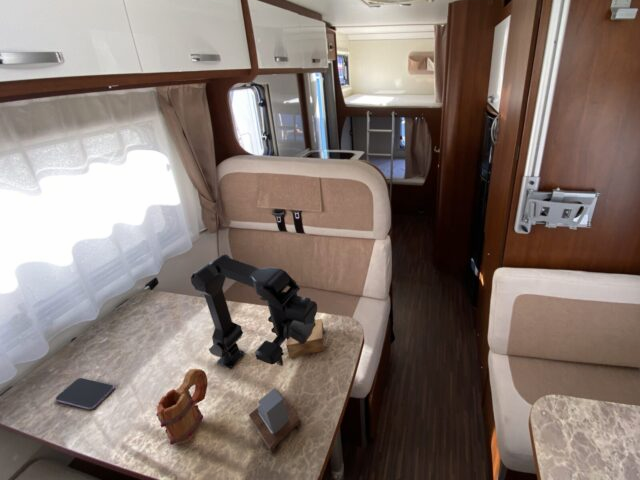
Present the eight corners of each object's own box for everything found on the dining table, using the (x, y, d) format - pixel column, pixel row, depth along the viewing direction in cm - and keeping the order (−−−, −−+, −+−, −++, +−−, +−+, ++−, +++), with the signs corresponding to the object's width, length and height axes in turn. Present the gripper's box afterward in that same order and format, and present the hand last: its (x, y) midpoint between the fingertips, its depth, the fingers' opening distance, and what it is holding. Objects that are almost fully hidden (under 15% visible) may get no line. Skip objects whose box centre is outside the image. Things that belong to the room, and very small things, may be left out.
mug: (187, 454, 79) (168, 419, 73) (161, 447, 81) (140, 413, 75) (224, 397, 92) (211, 364, 86) (202, 393, 94) (187, 360, 88)
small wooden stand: (251, 421, 86) (248, 414, 84) (279, 396, 92) (277, 390, 90) (271, 454, 78) (269, 447, 77) (301, 425, 84) (299, 418, 83)
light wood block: (289, 357, 104) (286, 345, 101) (291, 336, 112) (288, 324, 109) (324, 350, 106) (322, 338, 103) (324, 330, 114) (321, 318, 111)
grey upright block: (290, 420, 83) (283, 398, 79) (273, 435, 79) (265, 413, 75) (275, 399, 88) (268, 378, 84) (258, 413, 84) (251, 391, 81)
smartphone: (91, 409, 90) (53, 399, 93) (92, 411, 91) (54, 401, 94) (115, 385, 97) (79, 376, 100) (116, 387, 97) (80, 379, 100)
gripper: (283, 348, 72) (294, 390, 78) (324, 295, 88) (330, 333, 94) (247, 336, 76) (260, 377, 82) (292, 287, 92) (301, 325, 98)
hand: (291, 351), depth 89 cm, fingers open, 9 cm apart
